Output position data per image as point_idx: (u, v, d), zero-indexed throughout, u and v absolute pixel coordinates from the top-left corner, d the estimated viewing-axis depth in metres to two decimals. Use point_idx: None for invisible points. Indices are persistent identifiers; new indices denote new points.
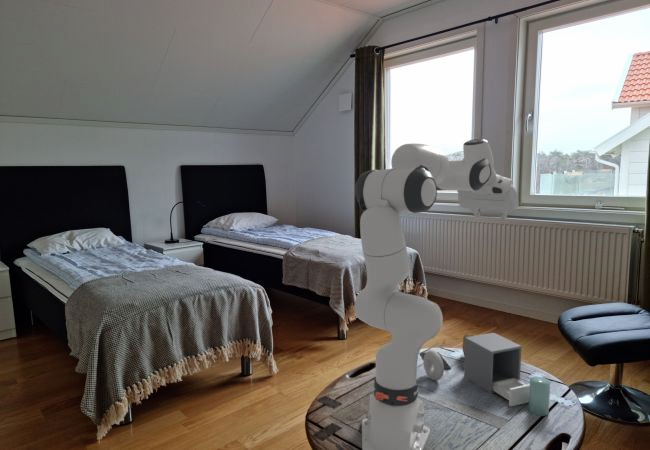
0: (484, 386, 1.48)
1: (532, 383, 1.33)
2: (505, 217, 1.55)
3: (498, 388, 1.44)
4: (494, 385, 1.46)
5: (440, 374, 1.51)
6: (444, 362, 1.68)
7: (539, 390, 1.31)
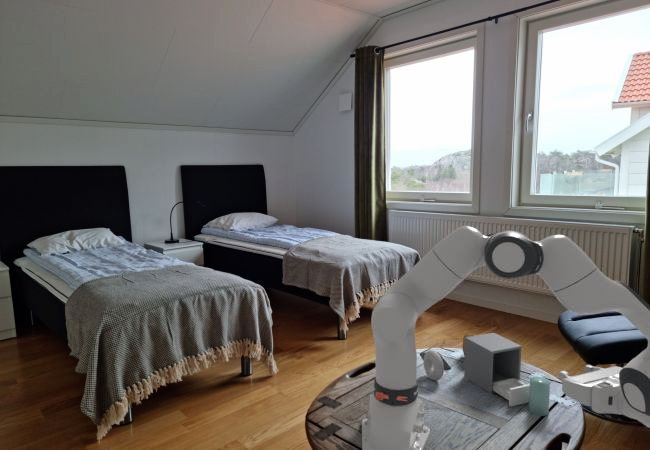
0: (484, 386, 1.48)
1: (532, 383, 1.33)
2: (561, 375, 1.20)
3: (498, 388, 1.44)
4: (494, 385, 1.46)
5: (440, 374, 1.51)
6: (444, 362, 1.68)
7: (539, 390, 1.31)
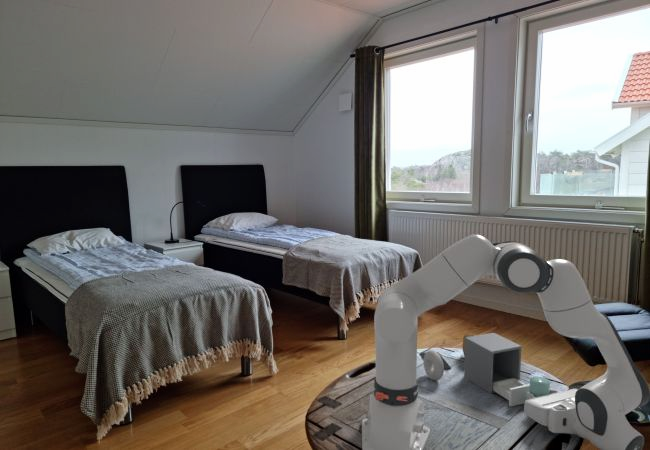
0: (484, 386, 1.48)
1: (532, 383, 1.33)
2: (528, 395, 1.33)
3: (498, 388, 1.44)
4: (494, 385, 1.46)
5: (440, 374, 1.51)
6: (444, 362, 1.68)
7: (539, 390, 1.31)
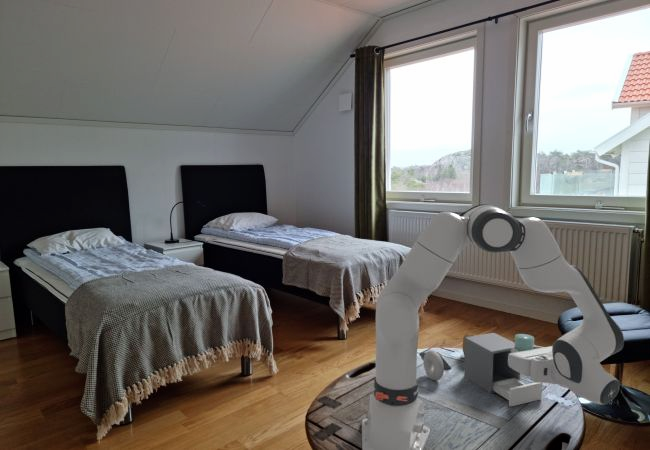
0: (484, 386, 1.48)
1: (517, 339, 1.37)
2: (513, 350, 1.37)
3: (498, 388, 1.44)
4: (494, 385, 1.46)
5: (440, 374, 1.51)
6: (444, 362, 1.68)
7: (523, 346, 1.36)
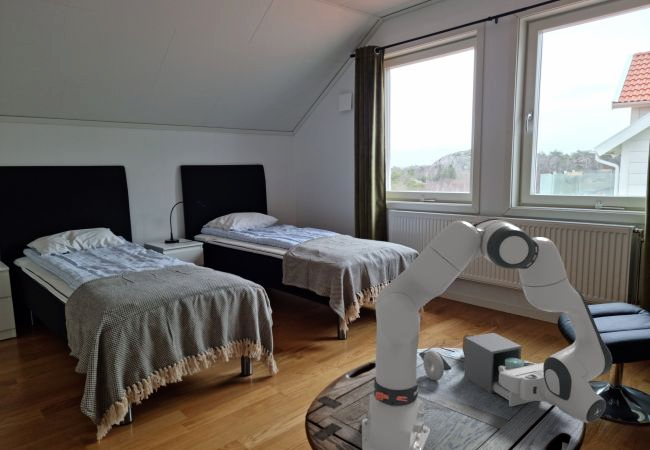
0: (484, 386, 1.48)
1: (507, 363, 1.42)
2: (500, 369, 1.41)
3: (498, 388, 1.44)
4: (494, 385, 1.46)
5: (440, 374, 1.51)
6: (444, 362, 1.68)
7: None
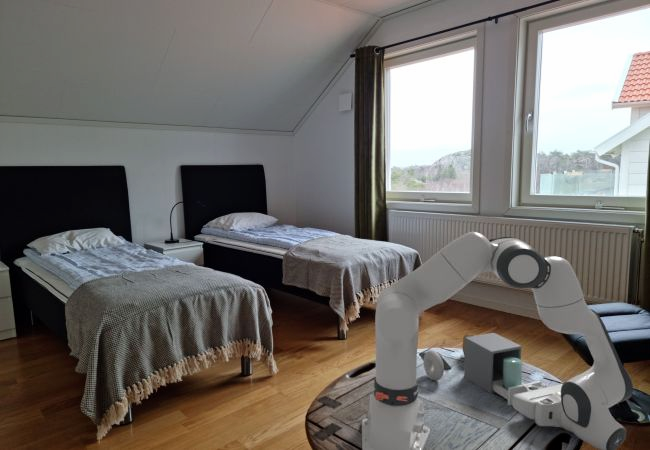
0: (484, 386, 1.48)
1: (505, 363, 1.42)
2: (524, 388, 1.38)
3: (497, 387, 1.44)
4: (493, 384, 1.46)
5: (440, 374, 1.51)
6: (444, 362, 1.68)
7: (512, 369, 1.41)
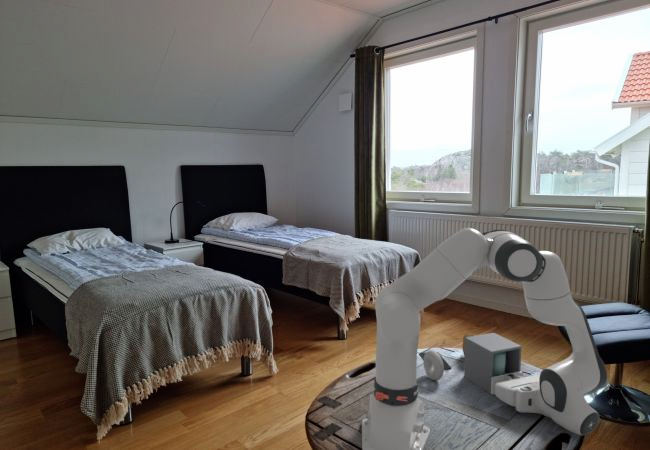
0: (484, 386, 1.48)
1: None
2: (506, 378, 1.44)
3: None
4: None
5: (440, 374, 1.51)
6: (444, 362, 1.68)
7: (496, 360, 1.48)
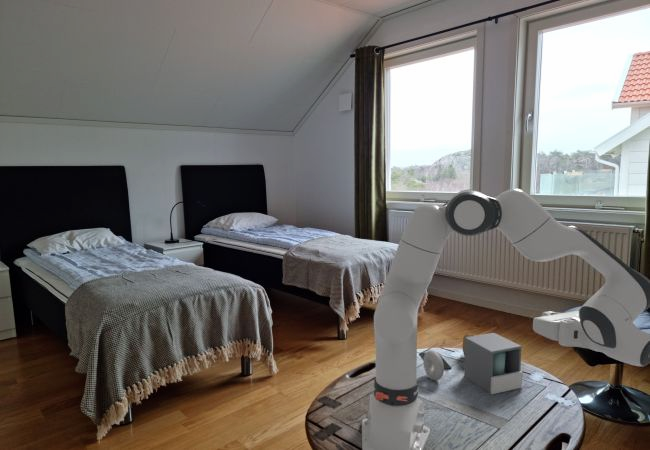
0: (484, 386, 1.48)
1: None
2: (544, 315, 1.29)
3: None
4: None
5: (440, 374, 1.51)
6: (444, 362, 1.68)
7: (496, 359, 1.48)
